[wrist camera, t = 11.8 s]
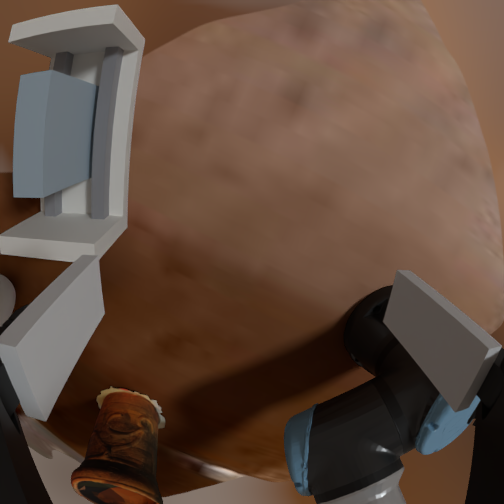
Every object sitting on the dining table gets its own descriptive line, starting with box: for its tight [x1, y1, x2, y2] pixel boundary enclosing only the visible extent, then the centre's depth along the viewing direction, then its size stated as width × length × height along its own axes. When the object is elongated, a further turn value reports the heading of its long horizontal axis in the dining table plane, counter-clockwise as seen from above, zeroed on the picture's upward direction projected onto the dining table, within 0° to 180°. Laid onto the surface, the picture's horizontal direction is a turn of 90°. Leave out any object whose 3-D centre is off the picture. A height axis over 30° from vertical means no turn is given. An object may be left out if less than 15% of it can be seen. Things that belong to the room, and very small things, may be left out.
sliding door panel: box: [13, 70, 99, 198], centre depth 25 cm, size 11×4×12 cm, turn 173°
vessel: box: [71, 386, 165, 504], centre depth 40 cm, size 14×14×20 cm
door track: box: [0, 5, 145, 262], centre depth 27 cm, size 24×12×12 cm, turn 173°
